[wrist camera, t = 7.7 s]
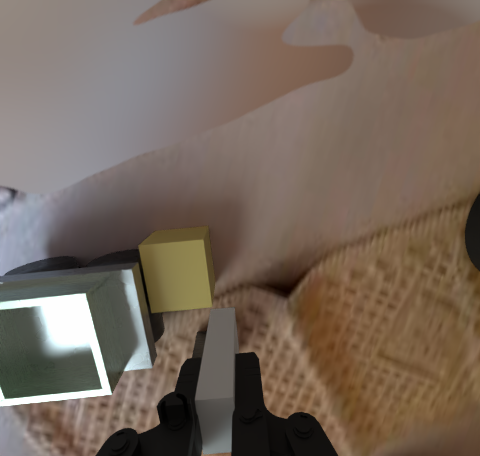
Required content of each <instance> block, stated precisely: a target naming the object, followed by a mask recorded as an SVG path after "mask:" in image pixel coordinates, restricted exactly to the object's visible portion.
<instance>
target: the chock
mask: <svg viewBox="0 0 480 456" xmlns="http://www.w3.org/2000/svg"><path fill="white" fill-rule="evenodd" d="M139 252H140V257H141V262H142V267H143V272H144V277H145V282H146V287H147V293H148V298H149V303H150V308H151V313H158V312H168V311H178V310H188V309H198V308H208V307H212V305H213V297H214V290H215V276H214V268H213V259H212V251H211V243H210V235H209V227H208V226H201V227H190V228H180V229H169V230H159V231H154V232H153V233H152V234H151V235H150V236H149V237H148V238H146V239H145V240H144V241H143V242H142V243H141V244H140V245H139Z"/></svg>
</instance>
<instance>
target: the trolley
mask: <svg viewBox="0 0 480 456" xmlns="http://www.w3.org/2000/svg"><path fill="white" fill-rule="evenodd" d="M164 329H165V328H164V322H163V317H162V312H158V313H151V308H150V303H149V298H148V293H147V287H146V282H145V277H144V272H143V267H142V262H141V257H140V252H139V249H132V250H124V251H119V252H115V253H111V254H107V255H104V256H102V257H99V258H97V259H95V260H93V261H91V262H90V263H89V264H88V265H87V268H78V266H77V263H76V259H75V258H74V257H71V256H63V257H54V258H48V259H44V260H39V261H35V262H32V263H29V264H26V265H23V266H20V267H17V268H15V269H13V270H11V271H9V272H7V273H6V274H5V275H4V276H0V406H6V405H16V404H25V403H35V402H45V401H54V400H64V399H73V398H83V397H92V396H102V395H111V394H112V393H113V391H114V389H115V387H116V385H117V383H118V381H119V379H120V377H121V376H122V374H123V372H124V371H126V370H136V369H146V368H152V367H153V365H154V362H155V359H156V357H157V353H156V348H155V342H157V341H158V340H159V339H160V338H161V336H162V335H163V333H164Z"/></svg>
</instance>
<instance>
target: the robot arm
mask: <svg viewBox="0 0 480 456" xmlns="http://www.w3.org/2000/svg"><path fill="white" fill-rule="evenodd" d="M465 243H466V248H467V252H468V255H469V257H470V259H471V261H472V263H473V264H474V265H475V267H476V268H477V269H478V270H479V271H480V194H479V196H478V197H477V199H476V200H475V202H474V204H473V206H472V208H471V211H470V213H469V216H468V219H467V224H466V230H465ZM157 410H158V415H159V420H160V424H159V425H158V426H156V427H155V428H153V429H151V430H148V431H146V432H143V433H141V434H137V432H136V430H134V429H132V428H124V429H122V430H119V431H117V432H115V433H114V434H113V435H111V436H110V437H109V438H108V439H107V441H106V442H105V443H104V444H103V446H102V447H101V449H100V450H99V452H98V453H97V454H96V456H201V452H202V448H203V454H214V453H226V452H231V456H338V454H337V453H336V451H335V449H334V448H333V446H332V444H331V442H330V441H329V439H328V437H327V436H326V434H325V432H324V430H323V429H322V427H321V425H320V424H319V422H318V421H317V420H316V419H315V417H313V416H311V415H310V414H308V413H304V412H297V413H294V414H292V415H290V416H289V417H288V419H284V418H280V417H277V416H275V415H273V414H272V413H270V412H269V411H268V410H267V408H266V406H265V404H264V400H263V391H262V382H261V373H260V365H259V358H258V357H257V356H256V354H255V353H254V352H249V353H239V343H238V334H237V325H236V316H235V307H231V308H220V309H211V312H210V317H209V323H208V328H207V334H206V340H205V345H204V351H203V356H202V357H201V358H190V359H187V360H186V361H185V362H184V364H183V365H182V366H181V370H180V373H179V377H178V381H177V384H176V388H175V391H174V392H171V393H169V394H167V395H165V396H164V397H163V398H162V399H161V400H160V402H159V403H158V405H157Z"/></svg>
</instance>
